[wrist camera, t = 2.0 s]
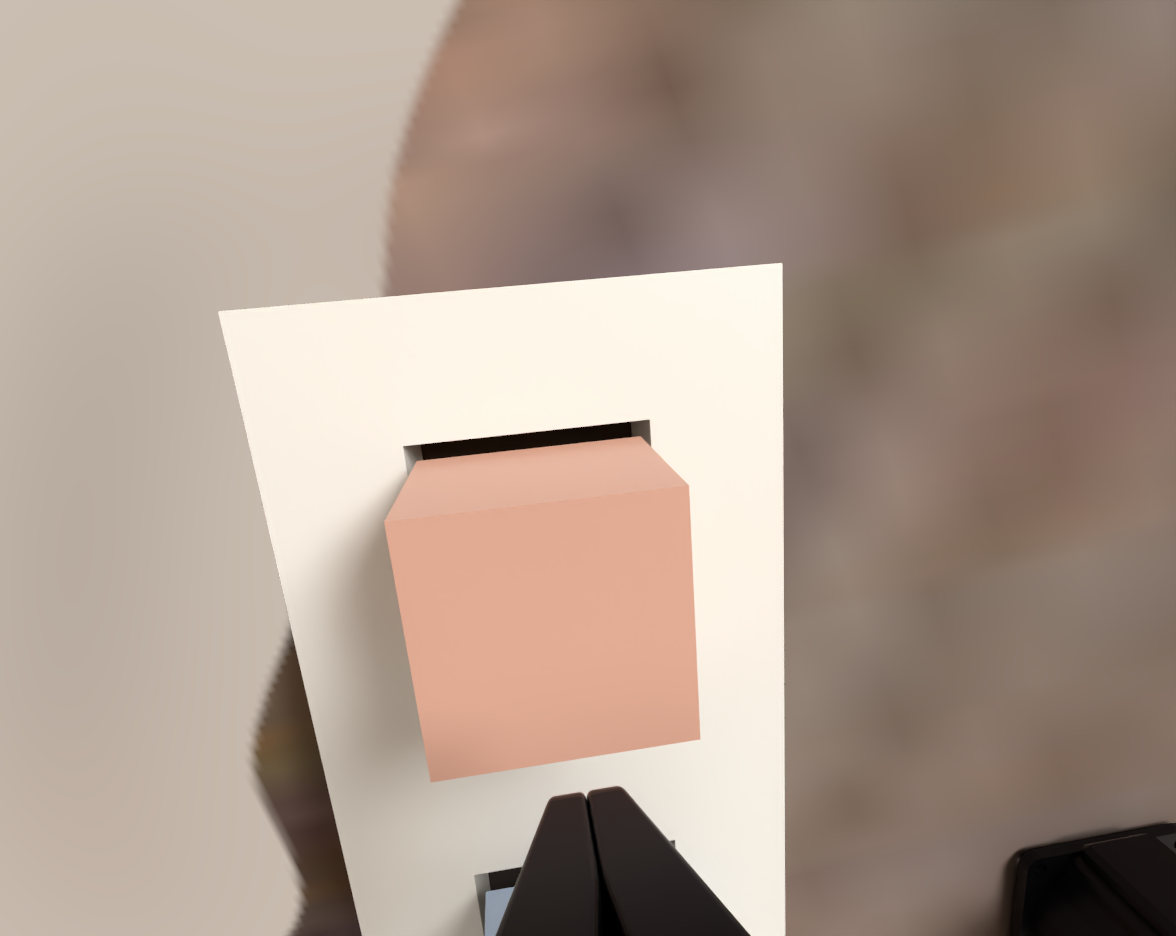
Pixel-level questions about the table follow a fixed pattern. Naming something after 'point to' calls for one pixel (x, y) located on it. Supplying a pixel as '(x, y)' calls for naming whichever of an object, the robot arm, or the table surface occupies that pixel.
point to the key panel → (503, 407)
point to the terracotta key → (546, 604)
